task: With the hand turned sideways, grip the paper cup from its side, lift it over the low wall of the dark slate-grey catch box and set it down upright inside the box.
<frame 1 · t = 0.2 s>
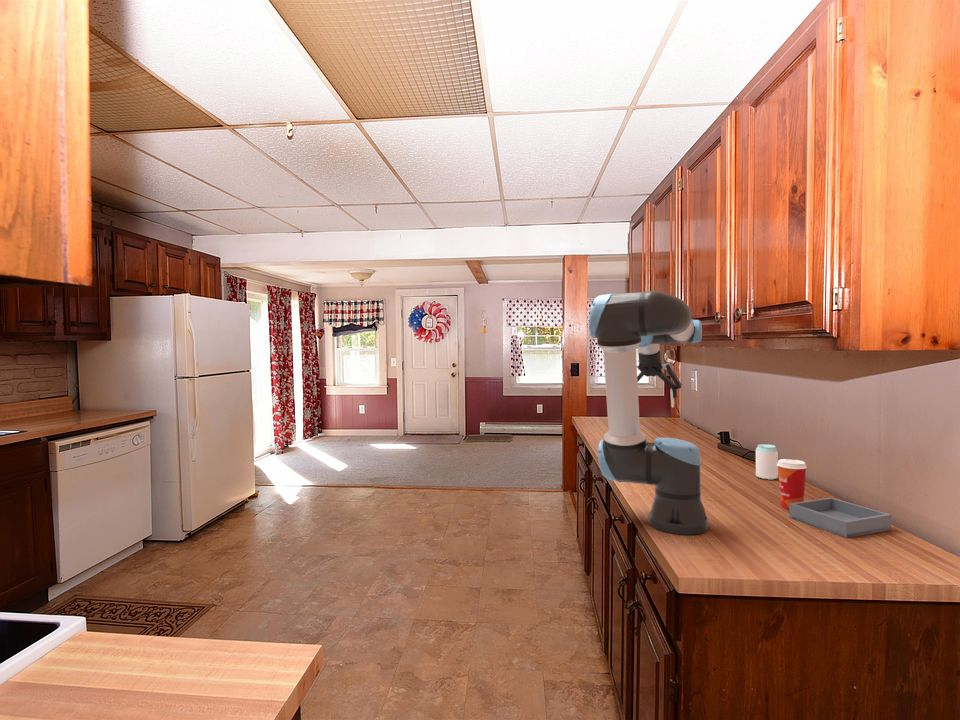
hand: (653, 405, 183), 27 cm above the countertop, tool tilted 15°, fingers open, 13 cm apart
can: (766, 478, 180), on the countertop
paper cup: (791, 508, 147), on the countertop
catch box: (838, 523, 134), on the countertop
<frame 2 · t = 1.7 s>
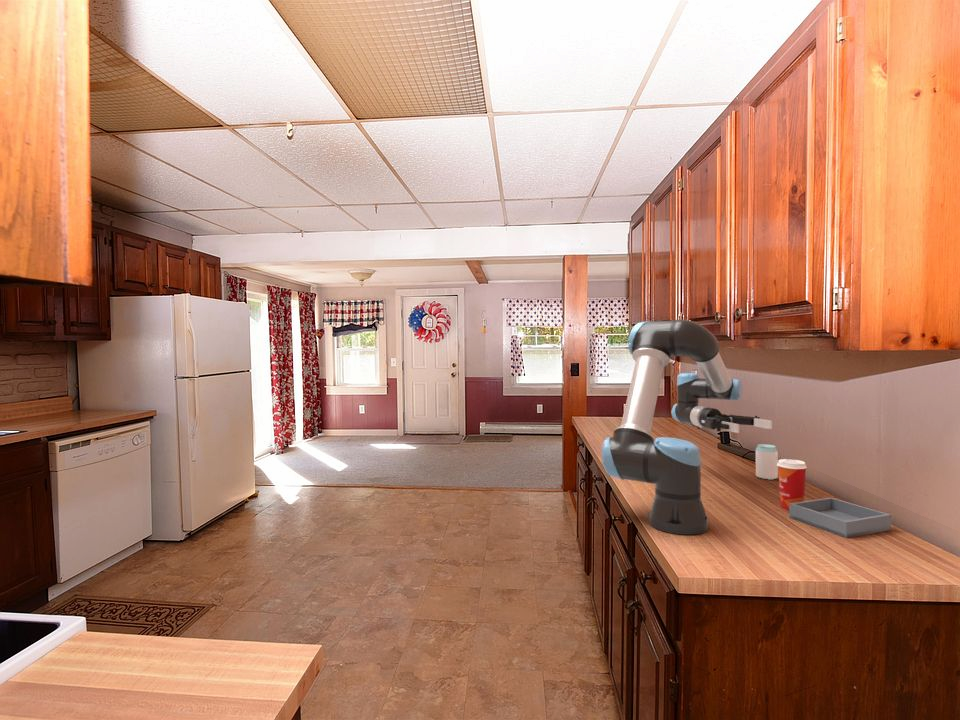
hand: (755, 426, 159), 23 cm above the countertop, tool horizontal, fingers open, 13 cm apart
nothing on the countertop moved.
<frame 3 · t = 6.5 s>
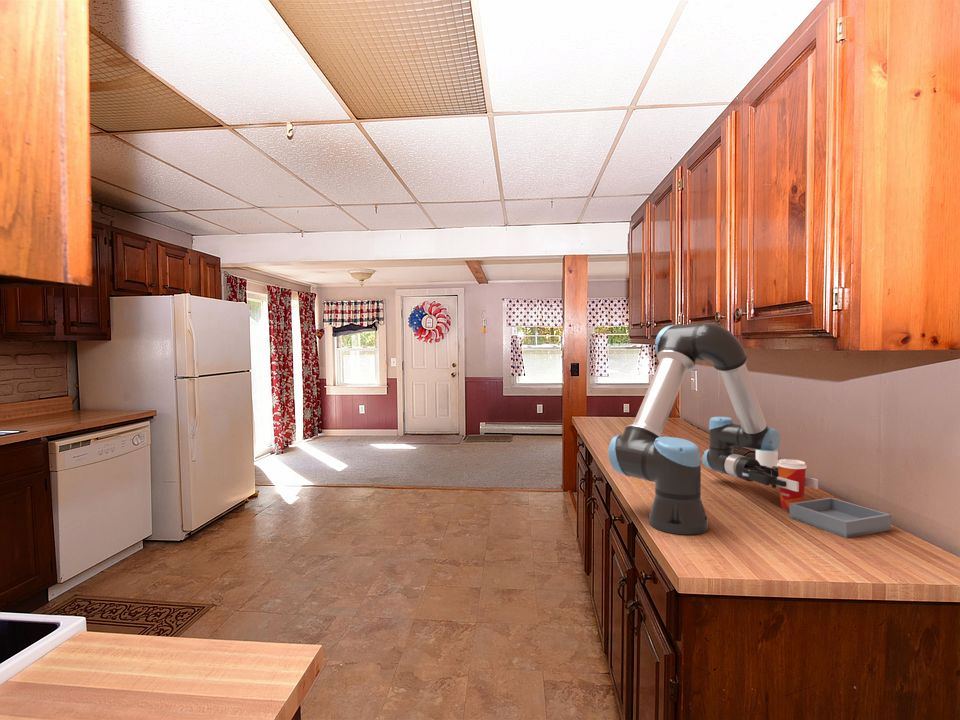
hand: (807, 485, 142), 8 cm above the countertop, tool horizontal, fingers closed on paper cup, 7 cm apart
paper cup: (791, 508, 147), on the countertop, touching gripper
everything else where it was.
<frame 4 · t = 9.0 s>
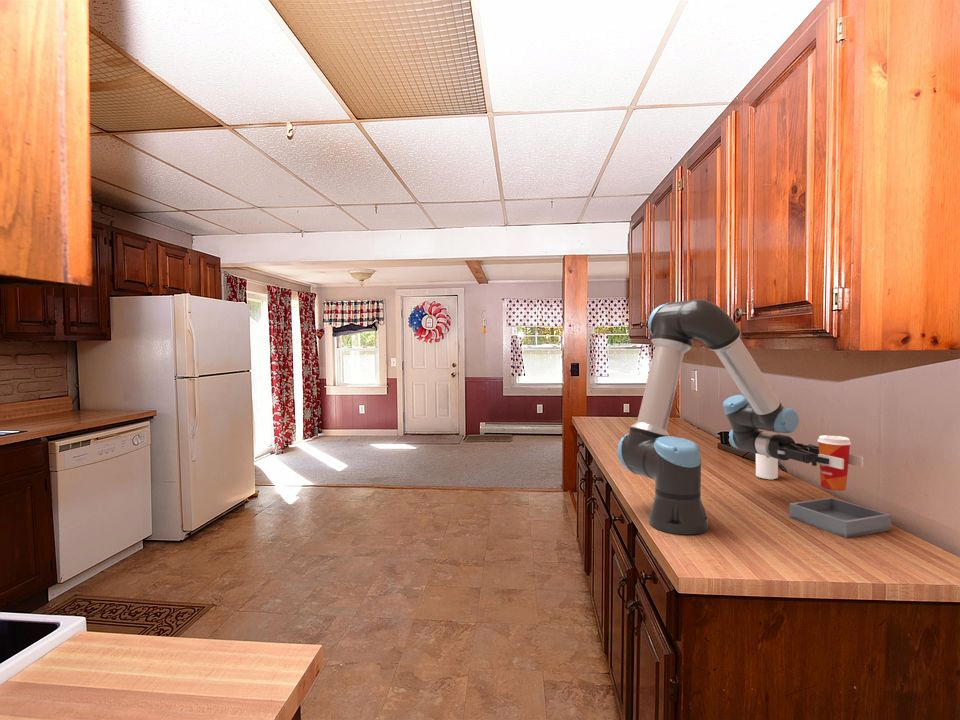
hand: (852, 462, 130), 17 cm above the countertop, tool horizontal, fingers closed on paper cup, 7 cm apart
paper cup: (833, 488, 135), point 9 cm above the countertop, touching gripper
everything else where it was.
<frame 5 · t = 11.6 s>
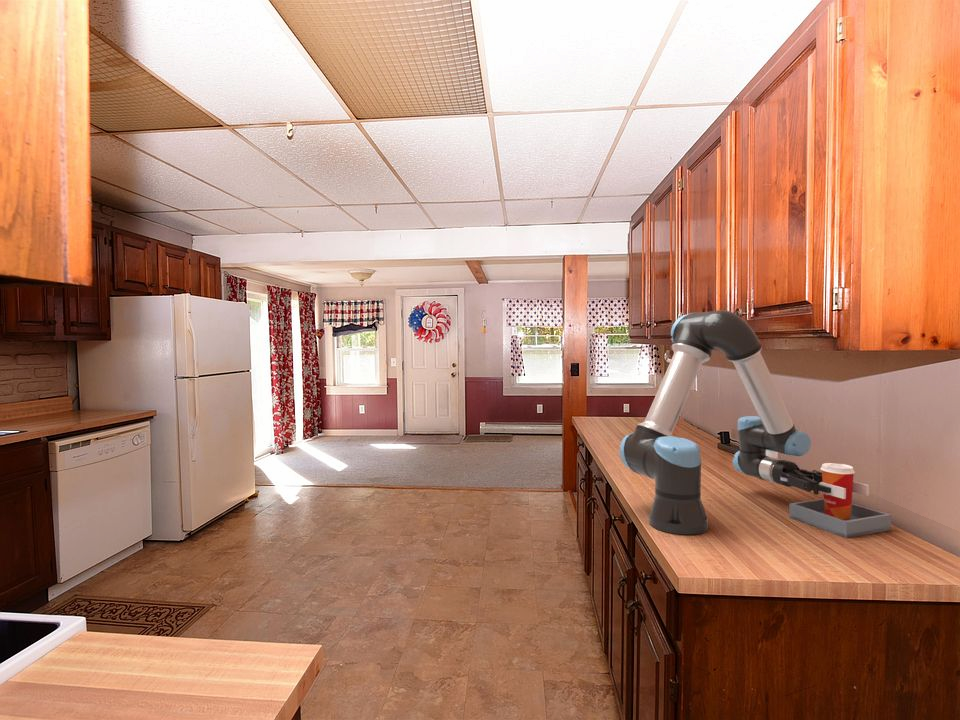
hand: (856, 492, 129), 10 cm above the countertop, tool horizontal, fingers closed on paper cup, 8 cm apart
paper cup: (837, 517, 134), point 2 cm above the countertop, touching gripper
everything else where it was.
when the fingers open (10 cm above the countertop, at t = 11.6 s): paper cup drops 1 cm, resting on catch box.
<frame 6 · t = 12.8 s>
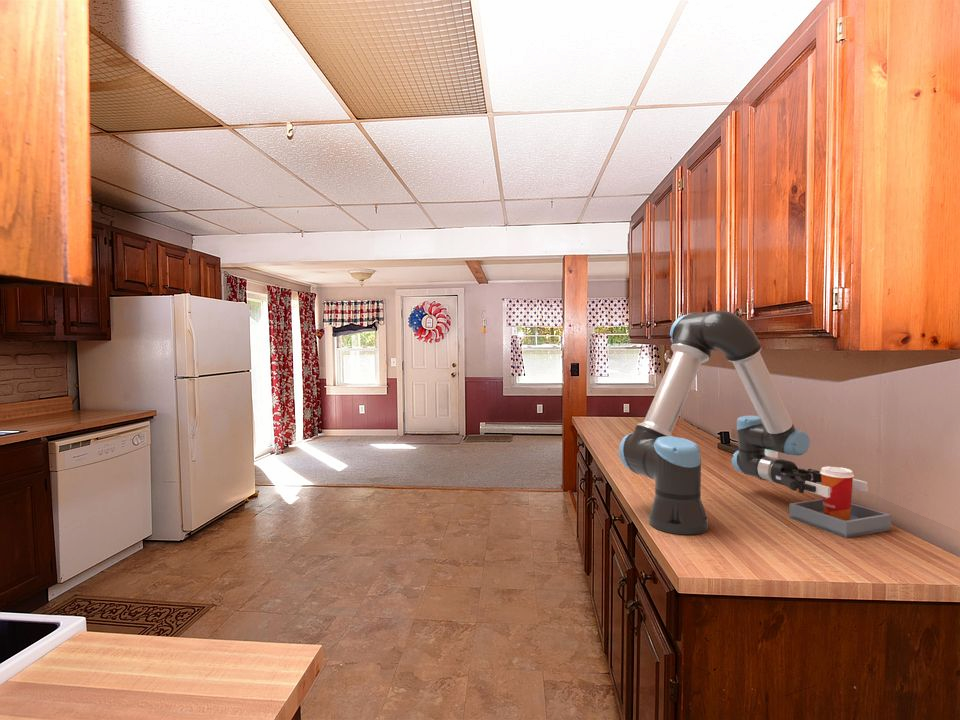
hand: (848, 489, 131), 10 cm above the countertop, tool horizontal, fingers open, 13 cm apart
paper cup: (836, 520, 134), point 1 cm above the countertop, touching catch box
everything else where it was.
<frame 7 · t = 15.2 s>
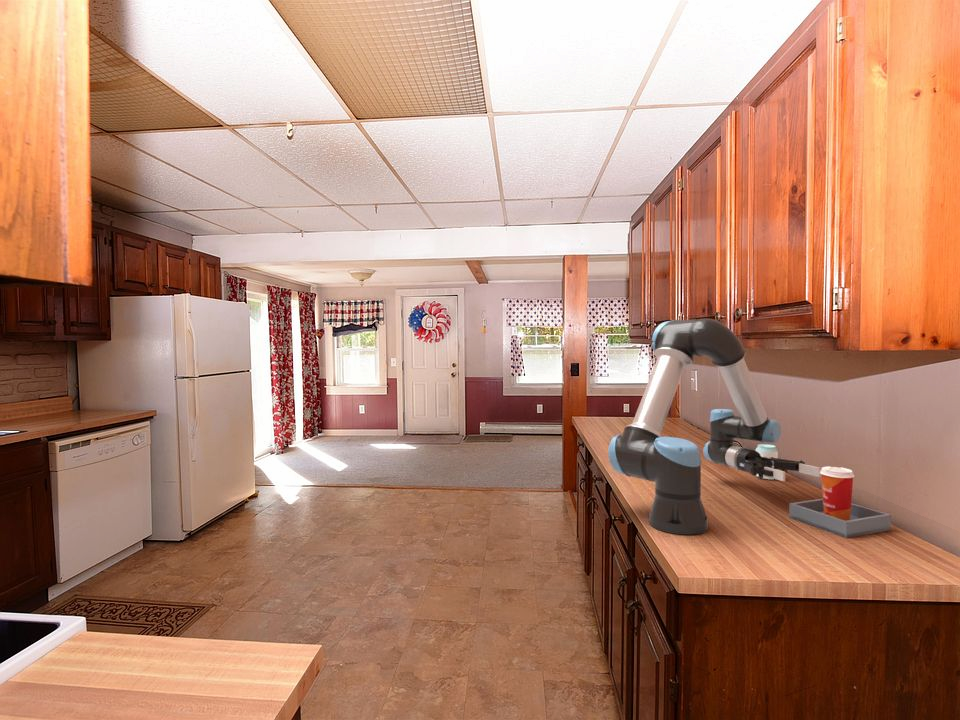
hand: (802, 474, 143), 11 cm above the countertop, tool horizontal, fingers open, 13 cm apart
nothing on the countertop moved.
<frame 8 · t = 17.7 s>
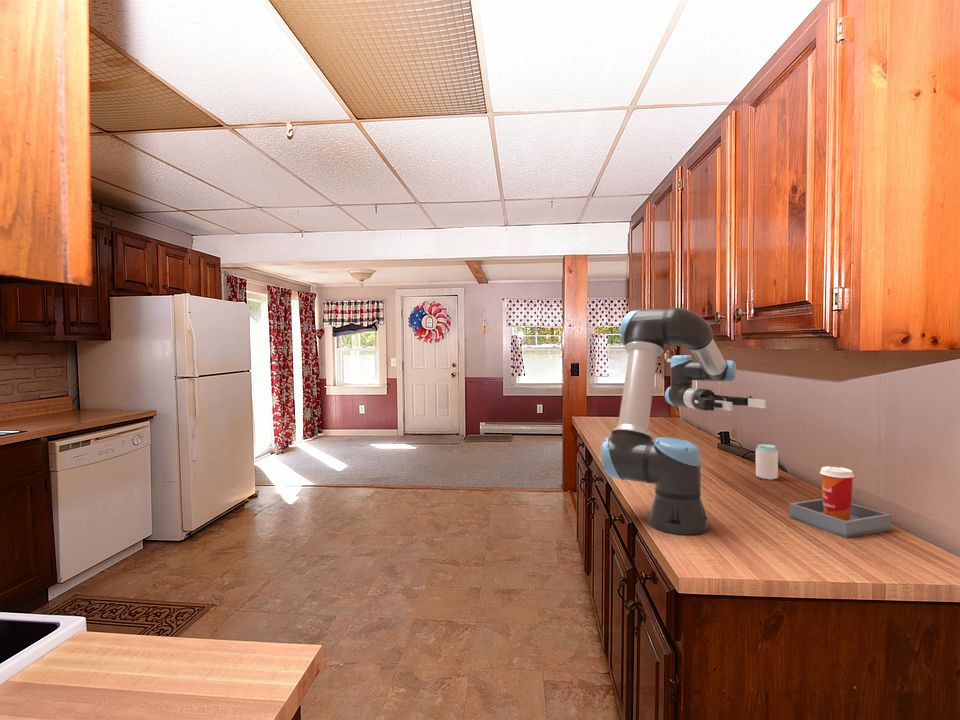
hand: (748, 405, 155), 30 cm above the countertop, tool horizontal, fingers open, 13 cm apart
nothing on the countertop moved.
at the end: paper cup inside the target area on the catch box (0.2 cm from its centre), point 0.6 cm above the catch box's base; paper cup tilted 0°; the gripper is holding nothing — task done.
